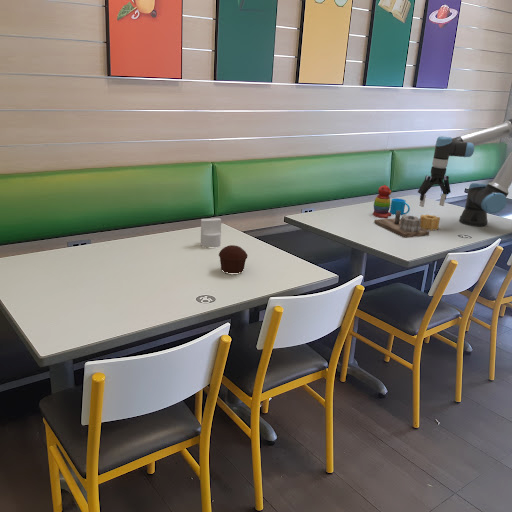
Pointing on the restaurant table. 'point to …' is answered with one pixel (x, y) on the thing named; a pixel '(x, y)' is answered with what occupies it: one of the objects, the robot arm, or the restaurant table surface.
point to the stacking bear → (382, 203)
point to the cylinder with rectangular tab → (211, 232)
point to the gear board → (396, 228)
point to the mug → (398, 206)
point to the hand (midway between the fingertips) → (431, 206)
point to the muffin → (232, 259)
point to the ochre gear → (429, 222)
